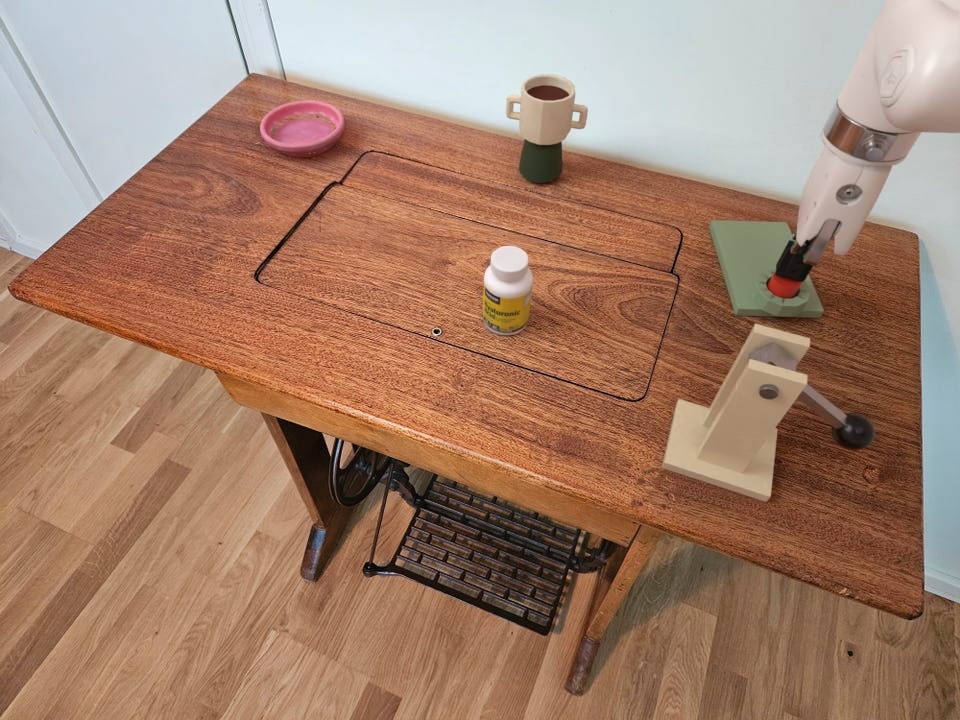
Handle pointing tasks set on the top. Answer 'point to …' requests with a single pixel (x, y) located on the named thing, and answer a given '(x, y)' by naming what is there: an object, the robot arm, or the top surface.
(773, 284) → the button
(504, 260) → the supplement bottle
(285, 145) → the saucer
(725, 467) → the switch bracket
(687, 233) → the top surface
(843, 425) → the lever
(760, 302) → the button box
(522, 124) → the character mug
